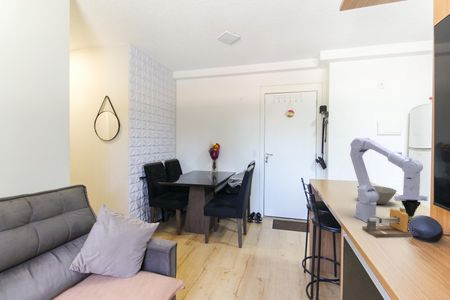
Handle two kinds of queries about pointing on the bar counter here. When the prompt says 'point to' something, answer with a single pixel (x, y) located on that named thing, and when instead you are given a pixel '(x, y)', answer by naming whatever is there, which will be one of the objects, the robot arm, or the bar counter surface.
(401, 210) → the supplement bottle
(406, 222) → the collar
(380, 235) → the pipe stand
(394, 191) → the ceramic bowl
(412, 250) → the bar counter surface
